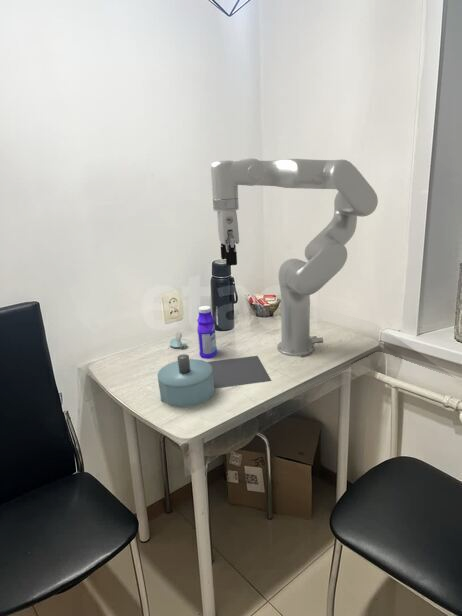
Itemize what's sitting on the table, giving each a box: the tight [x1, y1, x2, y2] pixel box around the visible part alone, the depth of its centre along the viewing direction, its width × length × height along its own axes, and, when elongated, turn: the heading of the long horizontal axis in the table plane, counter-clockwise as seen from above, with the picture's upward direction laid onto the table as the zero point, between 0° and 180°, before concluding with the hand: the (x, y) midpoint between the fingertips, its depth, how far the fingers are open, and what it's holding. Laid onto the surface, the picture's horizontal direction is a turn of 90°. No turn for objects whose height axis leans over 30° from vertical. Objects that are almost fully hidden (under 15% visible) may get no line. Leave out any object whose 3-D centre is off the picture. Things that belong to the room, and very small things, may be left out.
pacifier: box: [167, 330, 188, 352], centre depth 148 cm, size 7×6×6 cm
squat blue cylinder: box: [157, 354, 216, 408], centre depth 116 cm, size 15×15×11 cm
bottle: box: [196, 305, 218, 359], centre depth 139 cm, size 7×6×17 cm
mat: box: [207, 355, 273, 389], centre depth 129 cm, size 18×18×1 cm
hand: (228, 261), depth 127 cm, fingers open, 9 cm apart
